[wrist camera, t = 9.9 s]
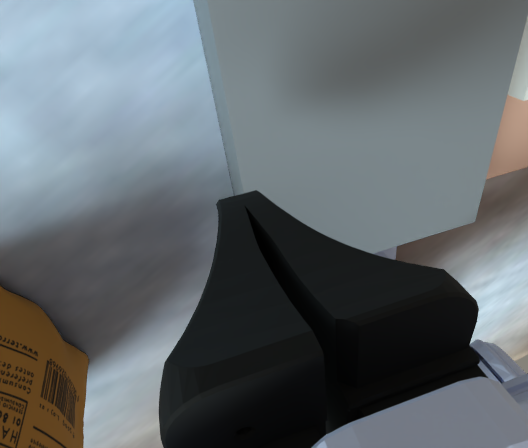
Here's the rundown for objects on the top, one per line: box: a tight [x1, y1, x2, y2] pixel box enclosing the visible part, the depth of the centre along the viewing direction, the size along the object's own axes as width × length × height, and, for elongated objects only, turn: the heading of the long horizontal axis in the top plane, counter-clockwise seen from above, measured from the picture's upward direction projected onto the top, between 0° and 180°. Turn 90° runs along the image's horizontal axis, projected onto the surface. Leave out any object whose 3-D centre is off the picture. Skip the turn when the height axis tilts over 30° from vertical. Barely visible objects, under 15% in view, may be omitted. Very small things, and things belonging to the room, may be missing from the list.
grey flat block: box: [194, 0, 528, 254], centre depth 18 cm, size 22×14×4 cm, turn 8°
